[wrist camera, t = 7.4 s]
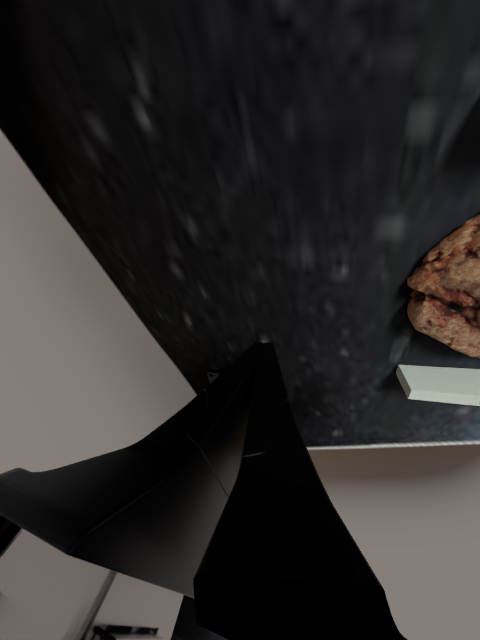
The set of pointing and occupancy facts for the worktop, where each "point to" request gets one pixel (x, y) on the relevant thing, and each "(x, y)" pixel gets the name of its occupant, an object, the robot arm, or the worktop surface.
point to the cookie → (450, 291)
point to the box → (440, 384)
